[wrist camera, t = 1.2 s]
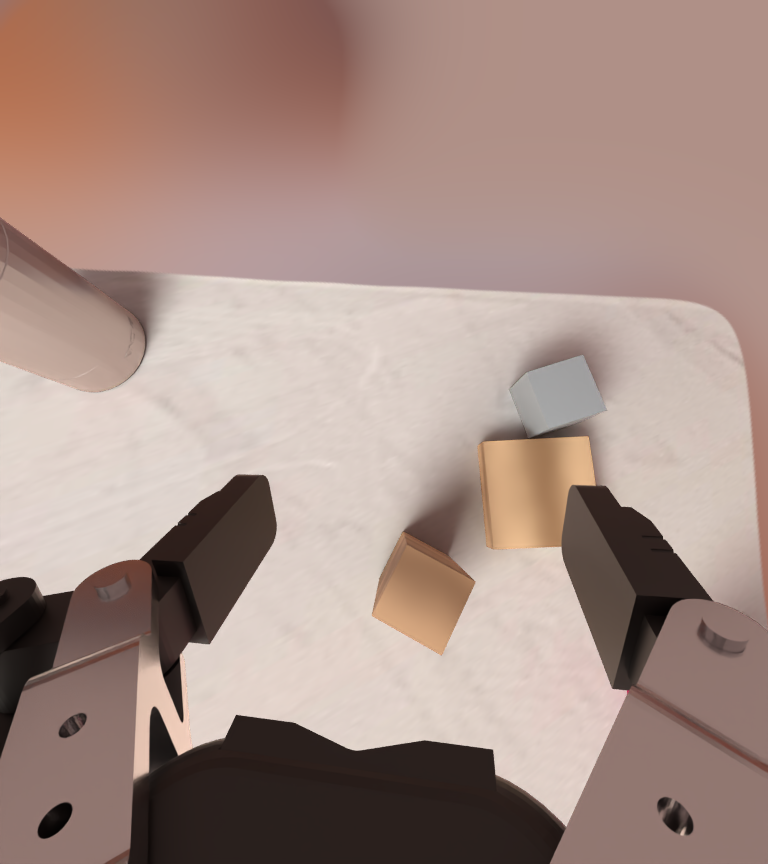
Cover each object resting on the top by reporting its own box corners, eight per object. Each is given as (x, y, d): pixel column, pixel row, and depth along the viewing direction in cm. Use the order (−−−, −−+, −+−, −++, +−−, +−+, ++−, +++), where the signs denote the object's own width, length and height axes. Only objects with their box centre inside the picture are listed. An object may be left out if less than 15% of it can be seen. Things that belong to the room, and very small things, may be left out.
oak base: (485, 545, 35) (493, 549, 32) (476, 446, 37) (483, 441, 34) (586, 541, 35) (604, 544, 32) (573, 441, 37) (588, 436, 34)
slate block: (528, 438, 37) (549, 428, 32) (509, 389, 37) (526, 372, 33) (578, 422, 37) (607, 410, 32) (558, 374, 38) (582, 354, 33)
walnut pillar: (425, 603, 34) (441, 655, 22) (379, 577, 35) (371, 615, 23) (448, 555, 35) (475, 581, 23) (402, 531, 35) (407, 544, 23)
